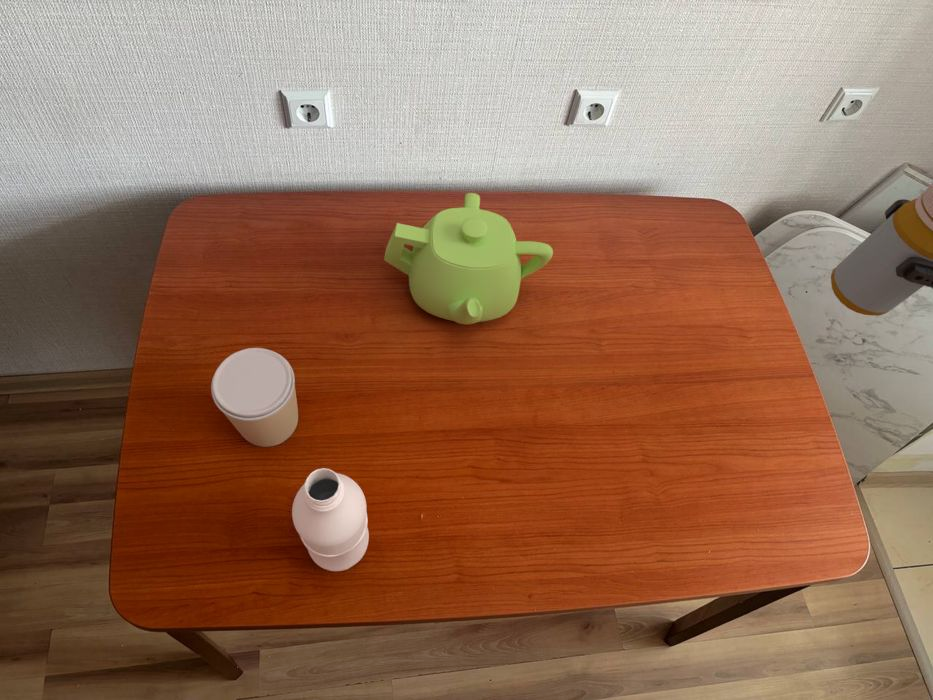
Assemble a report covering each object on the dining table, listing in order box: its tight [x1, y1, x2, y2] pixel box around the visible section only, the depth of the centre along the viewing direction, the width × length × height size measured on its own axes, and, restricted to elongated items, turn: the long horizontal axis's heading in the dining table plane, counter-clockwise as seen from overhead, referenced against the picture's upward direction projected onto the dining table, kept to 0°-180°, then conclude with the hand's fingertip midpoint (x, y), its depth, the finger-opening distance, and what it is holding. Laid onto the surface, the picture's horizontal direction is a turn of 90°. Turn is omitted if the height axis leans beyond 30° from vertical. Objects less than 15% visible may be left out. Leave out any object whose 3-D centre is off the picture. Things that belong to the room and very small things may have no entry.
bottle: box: [830, 182, 933, 317], centre depth 58 cm, size 7×7×15 cm
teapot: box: [383, 192, 554, 326], centre depth 87 cm, size 19×20×14 cm
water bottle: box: [291, 467, 370, 572], centre depth 62 cm, size 7×7×25 cm
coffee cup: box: [210, 347, 299, 448], centre depth 74 cm, size 9×9×12 cm
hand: (896, 236), depth 58 cm, fingers closed on bottle, 7 cm apart
